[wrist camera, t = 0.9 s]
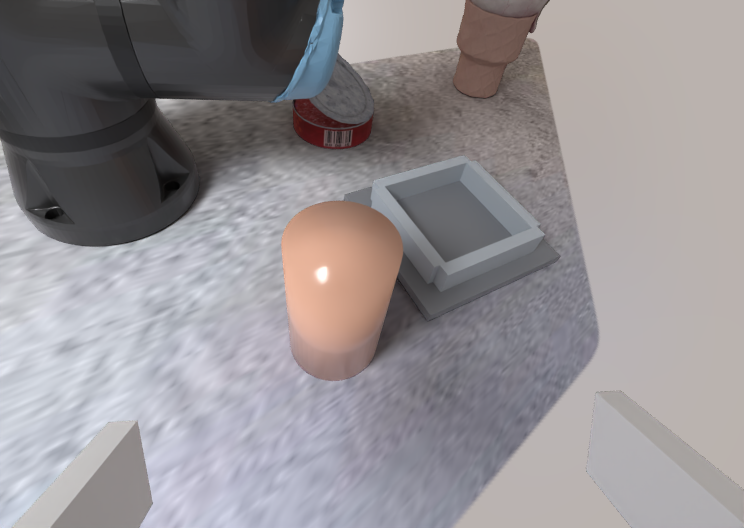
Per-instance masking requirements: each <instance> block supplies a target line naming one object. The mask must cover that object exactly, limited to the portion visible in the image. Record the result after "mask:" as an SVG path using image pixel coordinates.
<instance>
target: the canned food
mask: <svg viewBox="0 0 744 528" xmlns="http://www.w3.org/2000/svg"><path fill="white" fill-rule="evenodd" d="M292 104H293V124H294V129H295V131H296V133H297V134H298V135H299V136H300V137H301V138H302V139H303V140H305V141H307V142H308V143H310V144H313V145H315V146H318V147H322V148H328V149H345V148H351V147H354V146H357V145H359V144H361V143H363V142H364V141H365V140H366V139H367V138H368V137H369V135H370V133H371V126H372V119H373V113H374V100H373V98H372V96H371V93H370V90H369V88H368V87H367V86H366V84H365V83H364V82H363V80H362V78H361V77H360V75H359V74H358V73H357V72H356V71H355V70H354V69H353V68H352V67H351V66H350V64H349V63H348V62H347V61H346V60H344V59H343V58H342V57H341V56H340V55H339V54H338V55H337V60H336V63H335V67H334V70H333V73H332V76H331V78H330V80H329V82H328V84H327V86H326V87H325V88H324V90H323V91H322V92H321V93H320V94H318V95H317V96H315V97H312V98H308V99H293V102H292Z"/></svg>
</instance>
